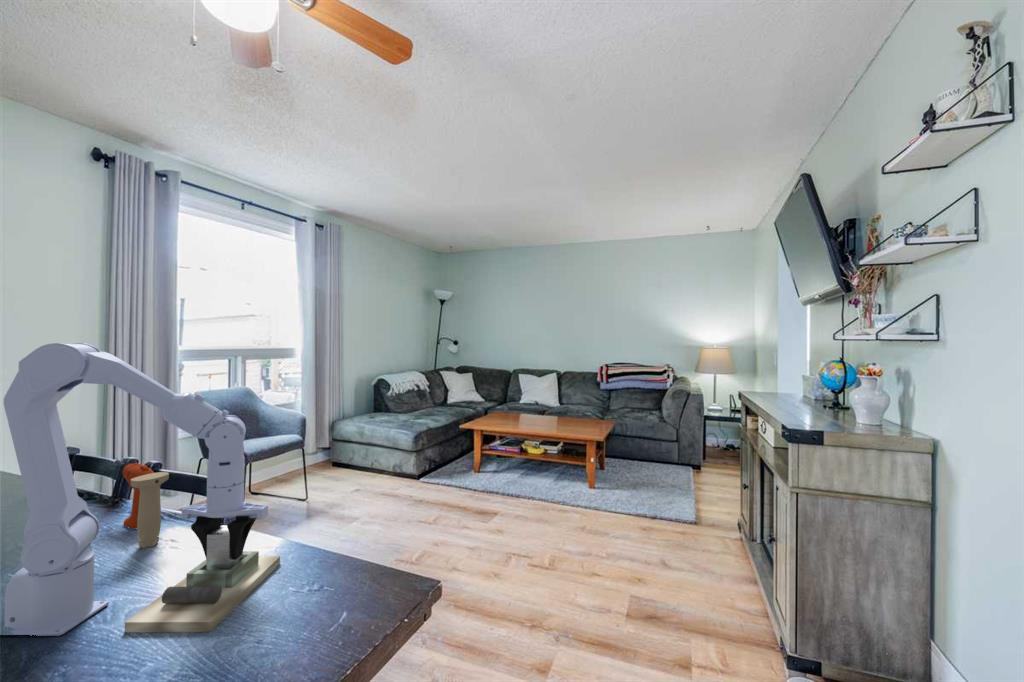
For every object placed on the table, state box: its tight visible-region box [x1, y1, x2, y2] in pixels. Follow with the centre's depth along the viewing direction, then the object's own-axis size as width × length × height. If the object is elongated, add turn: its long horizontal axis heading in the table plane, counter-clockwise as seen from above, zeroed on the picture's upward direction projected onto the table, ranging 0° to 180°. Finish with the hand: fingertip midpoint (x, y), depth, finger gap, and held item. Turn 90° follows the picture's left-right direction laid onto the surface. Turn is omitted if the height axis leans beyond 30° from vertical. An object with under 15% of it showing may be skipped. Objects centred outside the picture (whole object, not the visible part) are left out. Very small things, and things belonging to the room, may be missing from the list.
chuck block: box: [124, 550, 281, 633], centre depth 74 cm, size 13×20×4 cm, turn 1°
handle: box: [130, 471, 170, 549], centre depth 92 cm, size 5×6×15 cm
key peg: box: [205, 524, 243, 570], centre depth 77 cm, size 4×4×7 cm
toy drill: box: [114, 459, 155, 529], centre depth 104 cm, size 5×19×15 cm, turn 62°
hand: (224, 557), depth 77 cm, fingers closed on key peg, 4 cm apart
